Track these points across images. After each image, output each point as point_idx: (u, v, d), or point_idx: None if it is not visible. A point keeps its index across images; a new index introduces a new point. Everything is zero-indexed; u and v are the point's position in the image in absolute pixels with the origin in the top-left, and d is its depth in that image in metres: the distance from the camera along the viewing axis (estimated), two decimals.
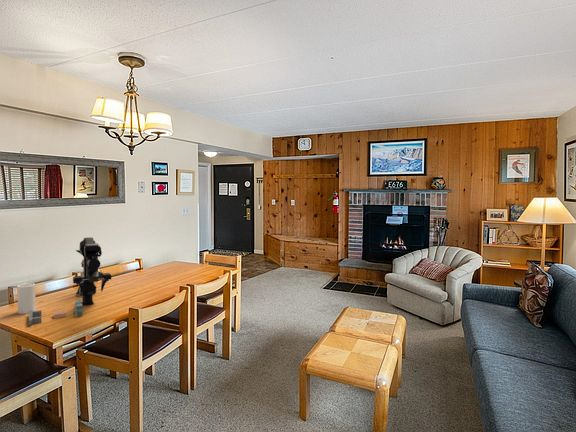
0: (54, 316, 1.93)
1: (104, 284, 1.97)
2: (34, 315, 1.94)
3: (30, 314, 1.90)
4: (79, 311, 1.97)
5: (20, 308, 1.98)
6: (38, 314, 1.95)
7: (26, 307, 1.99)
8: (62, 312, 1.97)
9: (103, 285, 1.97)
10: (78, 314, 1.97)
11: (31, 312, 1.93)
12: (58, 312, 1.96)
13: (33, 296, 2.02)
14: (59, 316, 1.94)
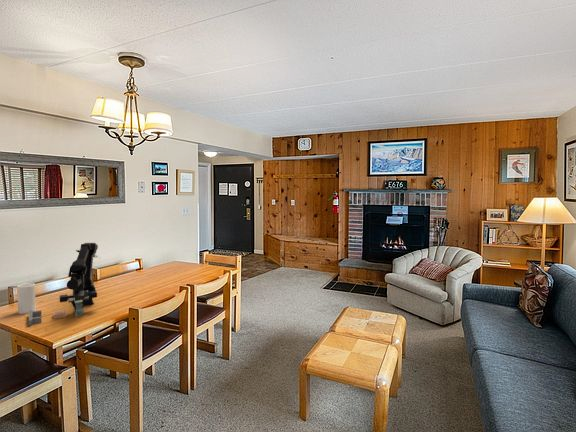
0: (54, 316, 1.93)
1: (84, 303, 2.03)
2: (34, 315, 1.94)
3: (30, 314, 1.90)
4: (79, 311, 1.97)
5: (20, 308, 1.98)
6: (38, 314, 1.95)
7: (26, 307, 1.99)
8: (62, 312, 1.97)
9: (83, 304, 2.03)
10: (78, 314, 1.97)
11: (31, 312, 1.93)
12: (58, 312, 1.96)
13: (33, 296, 2.02)
14: (59, 316, 1.94)
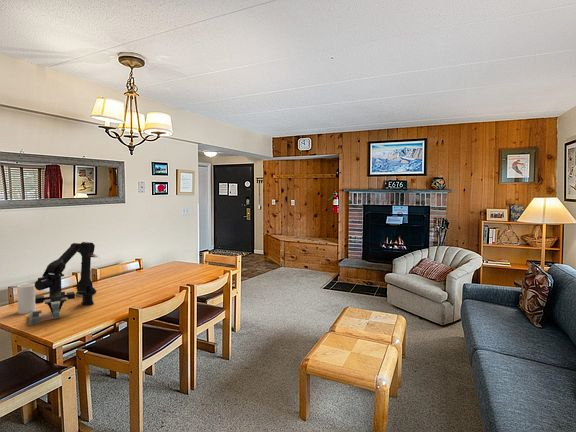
0: None
1: (62, 304, 1.96)
2: (34, 315, 1.94)
3: (30, 314, 1.90)
4: (56, 313, 1.91)
5: (20, 308, 1.98)
6: (38, 314, 1.95)
7: (26, 307, 1.99)
8: (48, 314, 1.93)
9: (60, 305, 1.96)
10: (55, 316, 1.91)
11: (31, 312, 1.93)
12: (44, 314, 1.92)
13: (33, 296, 2.02)
14: (45, 318, 1.90)
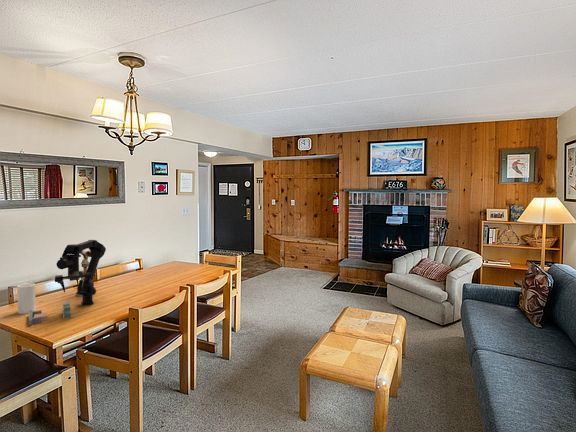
0: None
1: (85, 283, 2.07)
2: None
3: (30, 314, 1.90)
4: (67, 313, 1.94)
5: (20, 308, 1.98)
6: None
7: (26, 307, 1.99)
8: (43, 315, 1.92)
9: (84, 284, 2.07)
10: (66, 316, 1.94)
11: (31, 312, 1.93)
12: (39, 315, 1.91)
13: (33, 296, 2.02)
14: None
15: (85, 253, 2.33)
